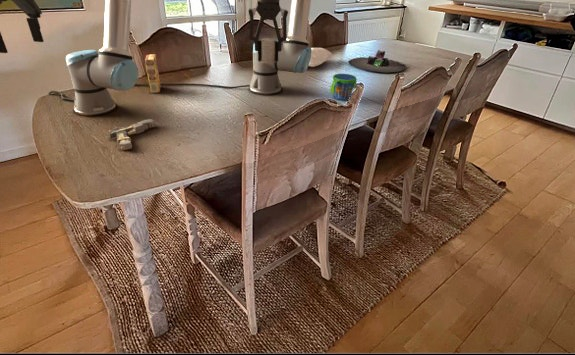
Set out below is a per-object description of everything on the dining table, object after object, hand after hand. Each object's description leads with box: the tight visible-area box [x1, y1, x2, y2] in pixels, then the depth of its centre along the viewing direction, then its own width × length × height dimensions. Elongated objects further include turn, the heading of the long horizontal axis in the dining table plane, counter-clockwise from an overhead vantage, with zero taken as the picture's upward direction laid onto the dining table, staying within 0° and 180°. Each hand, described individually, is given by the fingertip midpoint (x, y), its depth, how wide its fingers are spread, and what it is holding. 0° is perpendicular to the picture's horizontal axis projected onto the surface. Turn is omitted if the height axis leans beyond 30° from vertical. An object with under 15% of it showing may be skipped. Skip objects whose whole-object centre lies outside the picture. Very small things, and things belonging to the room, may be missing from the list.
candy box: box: [144, 54, 162, 94], centre depth 168 cm, size 9×4×15 cm, turn 13°
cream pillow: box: [308, 47, 333, 68], centre depth 217 cm, size 24×35×9 cm
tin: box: [259, 37, 277, 64], centre depth 131 cm, size 6×6×8 cm
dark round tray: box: [347, 49, 407, 74], centre depth 221 cm, size 35×35×9 cm
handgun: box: [108, 118, 157, 151], centre depth 130 cm, size 3×18×15 cm
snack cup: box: [329, 73, 358, 101], centre depth 169 cm, size 16×10×10 cm
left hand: (21, 46), depth 103 cm, fingers open, 13 cm apart
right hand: (267, 60), depth 133 cm, fingers closed on tin, 6 cm apart
